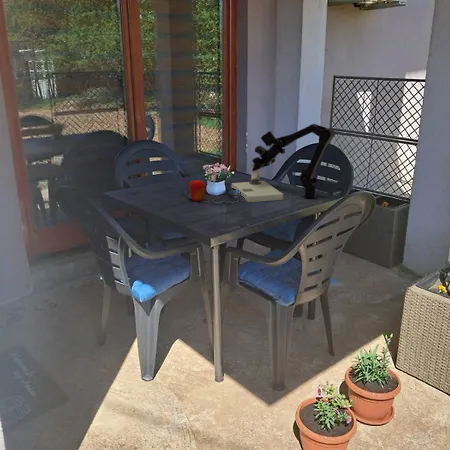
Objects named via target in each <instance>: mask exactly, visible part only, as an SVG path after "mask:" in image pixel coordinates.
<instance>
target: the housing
mask: <svg viewBox="0 0 450 450" xmlns="http://www.w3.org/2000/svg"><path fill="white" fill-rule="evenodd" d="M232 188H234V189H236V190H239V191H240V192H241V194H242V196H243V197H244V198H245V199H244V198H243V197H242V198H243V199H244V201H246V202H247V203H253V202H254V203H257V202H266V201H267V202H269V201H282V200H284V193H282V192H281V191H280V190H278V189H276V188H275V187H273V186H272V185H270V184H269V183H268V182H266V181H265V180H259V182H252V181H247V182H246V181H243V182H232V183H231V189H232Z"/></svg>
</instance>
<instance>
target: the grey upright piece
mask: <svg viewBox="0 0 450 450" xmlns="http://www.w3.org/2000/svg"><path fill="white" fill-rule="evenodd" d="M254 165H255V164H254V163H252V164H251V171H250V175H251V176H250V177H251V178H250V182H259V181H260V172H261V171H260V170H261V169H258V170H255V171H252V169H253V167H254Z"/></svg>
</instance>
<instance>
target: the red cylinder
mask: <svg viewBox="0 0 450 450" xmlns="http://www.w3.org/2000/svg"><path fill="white" fill-rule="evenodd" d="M188 187H189V188H188V189H189V192H190V199H192V201H194V202H199V201H202V200H203V199H204V198H205V191H206V184H205V181H203V180H200V179H194V180H191V181H189V183H188Z"/></svg>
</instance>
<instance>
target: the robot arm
mask: <svg viewBox="0 0 450 450" xmlns="http://www.w3.org/2000/svg"><path fill="white" fill-rule="evenodd" d="M309 134H314V135H316V137H317V136H318V144H317V146H316V149H315V150H314V152H313V155H312V157H311V159H310V162H309V164H308V166H306V167H305V168H302V171H301V173H300V175H299V180H300V182H301V185H302V187H303V188H304V192H303V193H304V194H301V196H302V197H303V198H305V199H307V200H308V199H309V200H310V199H317V198H318V196H316V186H318V184H319V181H318V180H317V178H316V174H317V167H318V165H319V163H320V160H321V159H322V157H323V155H324V152H325V150H326V148H327V146H328V145H329V144H330V143H331V141H332V140H333V138H334V137H335V135H336V131H335V130H334V129H333V128H332V127H326V126H323V125H318V124H316V123H312V124H309V125H308V126H306V127H304V128H302V129H300V130H298V131H295V132H293V133H292V134H287V135H284V136H279V137H275V135H274V134H273V132H272V131H267V132H266V133H265V134H262V136H261V137H260V139H261V140H262V142H263V143H264V144H265V146H266V147H269V149H267V148H265V147H263V146H262V145H257V146H255V148H254V153H255V154H256V153H257V154H258V155H259V157H257V156H256V157H255V158H253V159H251V160H252V162H253V163H252V164H255V165H254V167H253V169H252V171H255V170H258V169H260V170H261V169H263V168H265V167H268V166H270V165H273V164H274V163H275V162H276V158H277V156H278V155H279V154H281V155H284V154H285V153H286V147H289V146H290V145H292V144H293V143H294V142H296V141H297V140H299V139H301V138H303V137H305V136H307V135H309Z"/></svg>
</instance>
